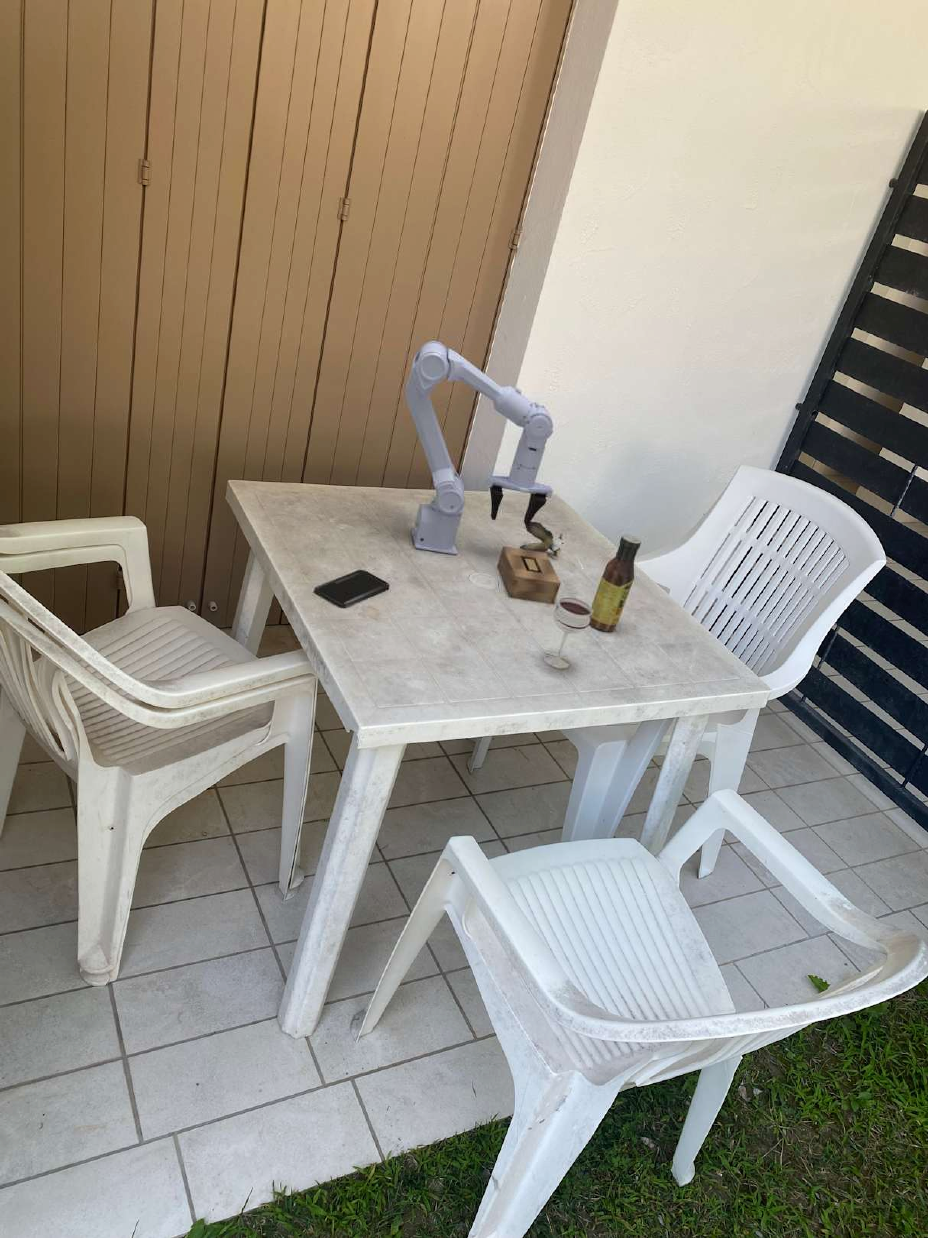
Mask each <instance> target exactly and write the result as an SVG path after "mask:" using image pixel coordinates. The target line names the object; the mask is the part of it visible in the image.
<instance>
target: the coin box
mask: <svg viewBox="0 0 928 1238" xmlns="http://www.w3.org/2000/svg"><path fill="white" fill-rule="evenodd" d="M499 556H500V557H499V558H498V563H497V569H498V572H499V574H500V577H501V579H502V582H503V585H504V588H505V590H506V593H507V595H508V598H513V599H519V600H525V601H526V600H527V601H531V602H532V601H533V602H537V603H538V602H540V603H544V604H545V603H546V604H552V605H555V602H556V599H557V596H558V593H559V590H560V587H561V584H562V583H561V581H560V579H559V577H558V574H557V573H556V572H557V571H555V569H554V566H553V564H552V562H551V560H550V558H549V556H548V554H547V553H546V552H540V551H539V552H537V551H530V550H524V549H520V548H517V547H510V546H505V545H503V546H502V549H501V552H500V555H499ZM524 559H530V560H534V562H535V564H536V567H537V569H538V572H532V571H527V570H526V568H525V565H524Z"/></svg>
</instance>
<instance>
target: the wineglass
mask: <svg viewBox="0 0 928 1238" xmlns="http://www.w3.org/2000/svg"><path fill="white" fill-rule="evenodd" d="M557 604H558V605H556V607H555V608H554V611H553V619H554V622H555V623H556V625H557V627H558V628H559V629H560V630H561V631H562V632H563V635H562V639H561V642H560V645H559V648H558V652H557V653H547V654H545V655H544V656H543V660H544V661H545V663H546V664H548V665H550V666H552V667H554V668H557V669H566V668H568V667H569V666H570V662H569V661H568V659H567V658H565V657H564V656H562V655H561V653H562V650H563V649H564V645H565V643H566V641H567V638H568V635H571V634H577V633H579V632H582V631H584V630H585V629H587V628H588V626H589V625H590V615H591V614H592V613H593V610H592V608H591V607H592V606H591V605H590V604H588V603H587V602H585V601H583V600H582V599H578V598H575V597H570V596H563V597H560V598H559V599H558V601H557Z"/></svg>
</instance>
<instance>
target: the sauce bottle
mask: <svg viewBox="0 0 928 1238" xmlns="http://www.w3.org/2000/svg"><path fill="white" fill-rule="evenodd" d="M641 544H642V541H641V540H640V539H639V538H638V537H636V536H634V535H630V534H623V535H622V536H621V537H620V539H619V546H618V549H617V551H616V552H615V557H613V558H612V559H611V560H610V561H608V562H607V564H606V566H605V568H604V571H603V575H602V576H601V579H600V581H599V584H598V587H597V590H596V592H595V595H594V599H593V601H592V603H591V606H590V607H591V608H592V610H593V613H592V614H591V615H590V623H589V625H590V626H591V627H593V628H595V629H597V630H600V631H604V632H611V631H613V630H615V629H616V627H617V624H618V623H619V622H620V618H621V616H622V613H623V611H624V607H625V605H626V602H627V600H628V597H629V594H630V591H631V588H632V586H633V583H634V580H635V559H636V556H637V553H638V551H639V549H640V548H641Z"/></svg>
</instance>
